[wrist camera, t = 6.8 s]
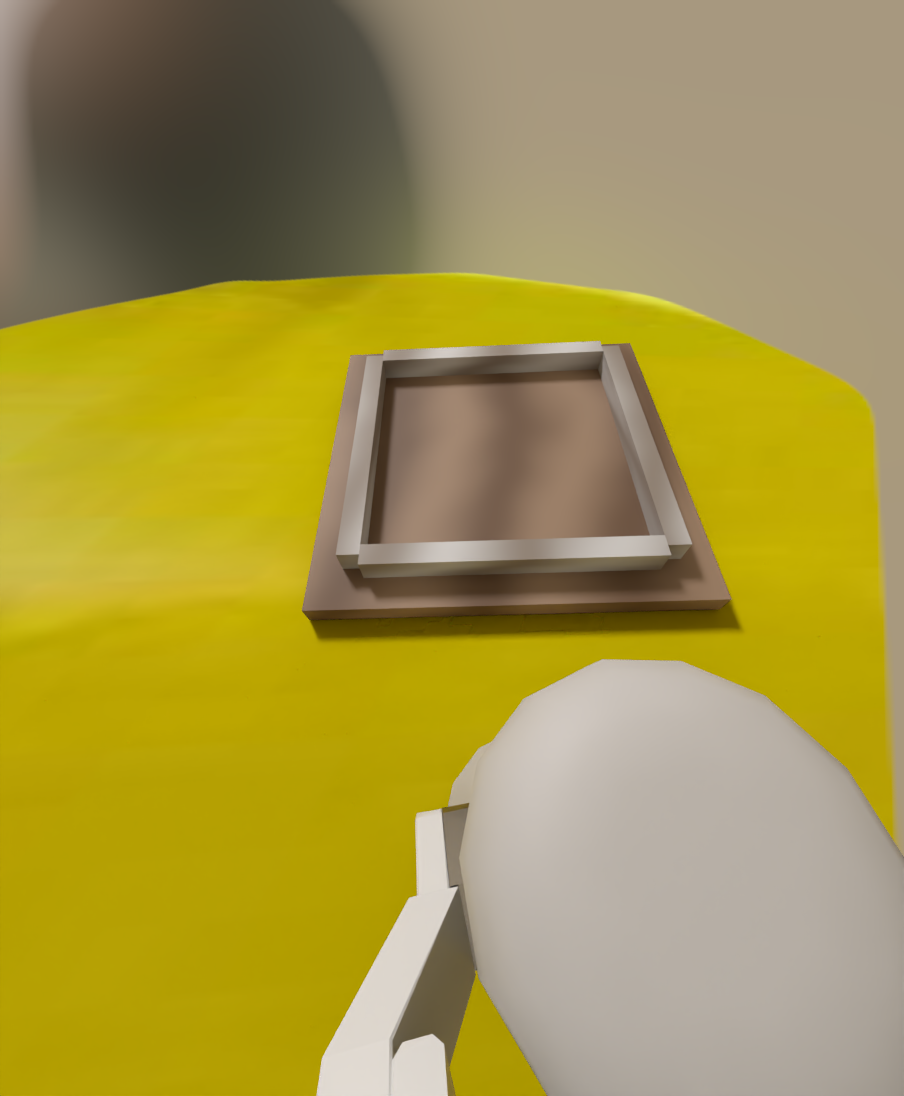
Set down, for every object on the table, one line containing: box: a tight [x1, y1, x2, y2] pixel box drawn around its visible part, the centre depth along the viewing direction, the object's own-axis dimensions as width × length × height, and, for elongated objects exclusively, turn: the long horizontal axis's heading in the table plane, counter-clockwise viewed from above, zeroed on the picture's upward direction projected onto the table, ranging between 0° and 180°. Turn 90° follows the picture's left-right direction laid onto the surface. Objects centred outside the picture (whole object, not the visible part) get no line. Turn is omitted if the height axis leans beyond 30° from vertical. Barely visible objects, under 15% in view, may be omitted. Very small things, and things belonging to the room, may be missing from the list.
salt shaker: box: [448, 659, 904, 1096], centre depth 9 cm, size 6×6×13 cm
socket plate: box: [302, 341, 731, 620], centre depth 23 cm, size 18×18×2 cm
